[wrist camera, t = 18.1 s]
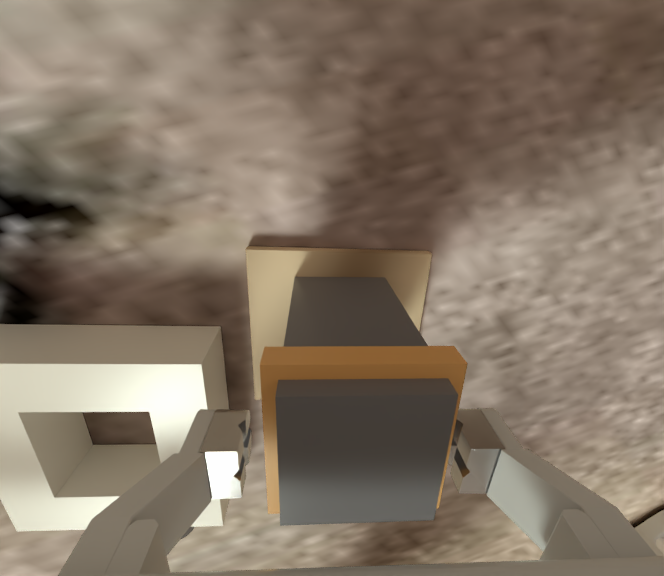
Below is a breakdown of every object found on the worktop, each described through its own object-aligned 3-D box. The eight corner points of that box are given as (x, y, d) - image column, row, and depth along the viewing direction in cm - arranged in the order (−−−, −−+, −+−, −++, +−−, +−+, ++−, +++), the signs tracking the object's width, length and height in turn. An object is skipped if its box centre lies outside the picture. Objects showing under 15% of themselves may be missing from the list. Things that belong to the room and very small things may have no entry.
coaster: (428, 250, 15) (432, 254, 14) (405, 392, 18) (407, 399, 18) (247, 246, 14) (245, 249, 14) (256, 392, 18) (254, 399, 17)
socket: (220, 326, 16) (201, 364, 13) (235, 472, 20) (223, 525, 17) (-2, 323, 15) (-71, 363, 13) (59, 475, 19) (17, 531, 16)
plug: (395, 268, 15) (479, 379, 7) (385, 362, 16) (446, 529, 9) (285, 267, 14) (255, 381, 7) (287, 362, 16) (265, 536, 9)
